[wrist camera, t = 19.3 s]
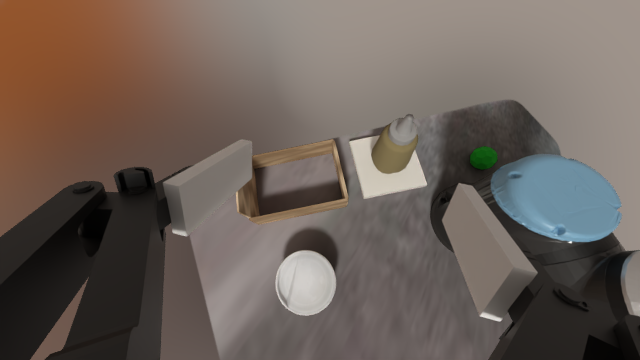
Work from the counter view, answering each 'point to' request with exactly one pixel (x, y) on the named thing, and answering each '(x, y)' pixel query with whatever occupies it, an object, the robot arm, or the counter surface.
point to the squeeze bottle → (395, 145)
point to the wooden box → (248, 192)
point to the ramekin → (305, 282)
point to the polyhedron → (483, 158)
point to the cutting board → (380, 182)
